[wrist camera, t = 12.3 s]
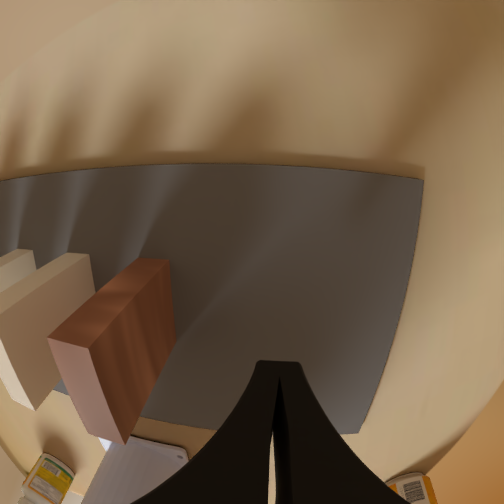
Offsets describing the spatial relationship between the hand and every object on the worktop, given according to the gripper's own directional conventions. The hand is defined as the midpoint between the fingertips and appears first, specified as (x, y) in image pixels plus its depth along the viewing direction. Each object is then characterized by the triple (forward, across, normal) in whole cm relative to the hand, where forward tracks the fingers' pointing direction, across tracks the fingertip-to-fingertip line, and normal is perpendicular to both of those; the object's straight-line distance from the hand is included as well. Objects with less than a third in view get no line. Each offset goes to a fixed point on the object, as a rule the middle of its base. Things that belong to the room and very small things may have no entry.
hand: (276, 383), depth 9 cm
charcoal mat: (+5, +11, +2) cm, 12 cm away
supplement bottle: (+6, +26, +28) cm, 38 cm away
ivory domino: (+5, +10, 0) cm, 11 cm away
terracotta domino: (+5, +6, 0) cm, 8 cm away
